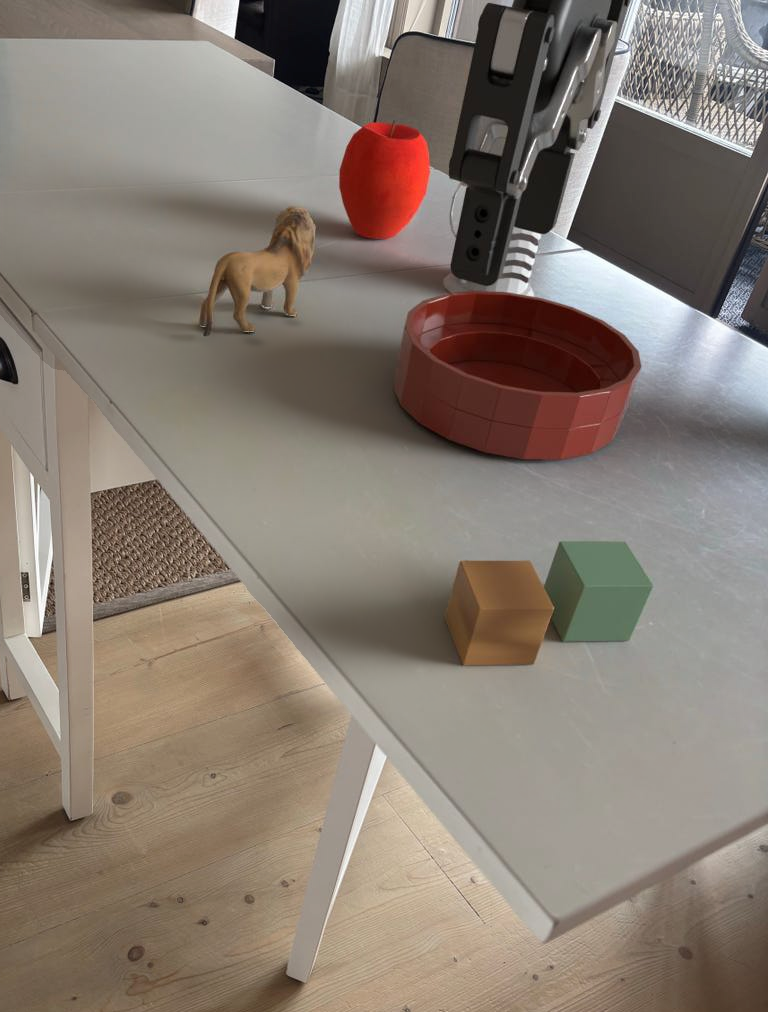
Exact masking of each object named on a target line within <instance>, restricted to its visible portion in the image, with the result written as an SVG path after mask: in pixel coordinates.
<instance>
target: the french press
mask: <svg viewBox="0 0 768 1012" xmlns="http://www.w3.org/2000/svg"><path fill="white" fill-rule="evenodd" d="M505 140H506V139H504V138H498V139H496V140H495V141H494V142H493V144H492V146H491V149H490V152H489V153H491V154H495V155H499V156H502V153H503V148H504V144H505ZM461 186H462V184H461V181H459V183H458V185H457V187H456V188H455V191H454V194H453V196H452V199H451V204H450V210H449V226H450V230H451V233H452V234H453V236H454V238H455V239H456V235H457V232H456V231H455V230H454V222H453V213H454V207H455V200H456V197H457V195H458V194H459V193H458V192H459V190H460V188H461ZM541 238H542V234H539V233H535V232H531V231H527V230H523V229H520V228H516V227H514V228H513V232H512V237H511V241H510V245H509V249H508V253H507V257H506V261H505V266H504V270H503V274H502V276H501V277H500V278H499V279H498V280H497V281H496V282H495V283H494V284H493V285H491V286H484V285H480V284H477V283H473V282H470V281H466V280H463V279H459V278H457V277H455V276H454V275H453V274H452V272H451V271H450V273H448V274H447V275H446V276H445V277H444V278H443V279H442V282H443V287H444V288H445V289H446V290H447V291H448V293H455V292H464V291H493V292H509V293H515V294H521V295H527V296H533V297H536V296H535V292H534V290H533V288H532V287H531V285H530V280H529V278H530V277H531V276H532V272H533V267H532V266H534V264H535V261H536V255H535V254H536V253H537V252H538V249H539V241H538V240H541Z"/></svg>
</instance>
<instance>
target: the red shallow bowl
mask: <svg viewBox="0 0 768 1012" xmlns="http://www.w3.org/2000/svg"><path fill="white" fill-rule="evenodd" d="M641 371H642V363H641V358H640V351H639V349H637V348H636V346H635V345H634V344H633V343H632V342H631V341H630V340H629V338H628V337H627V336H626V335H625V334H624V333H623V332H621V331H619V329H616V328H615V327H613V326H612V325H611V324H609V323H607V322H606V321H604V320H603V319H601V318H598V317H596V316H594V315H592V314H589V313H587V312H586V311H582V310H580V309H578V308H576V307H574V306H570V305H567V304H563V303H560V302H556V301H553V300H550V299H546V298H543V297H537V296H535V297H533V296H527V295H521V294H515V293H509V292H493V291H464V292H455V293H450V292H445V293H443V294H440V295H436V296H433V297H431V298H430V297H429V298H427V299H425V300H424V299H423V300H421V301H420V302H419V303H418V304H416V305H415V306H414V307H413V308H412V309H410V310H409V311H408V312H407V315H406V319H405V323H404V326H403V333H402V339H401V343H400V349H399V355H398V360H397V365H396V371H395V376H394V377H395V378H394V381H393V382H394V383H393V390H394V392H395V395H396V398H397V400H398V402H399V405H400V406H401V408H403V409H404V410H405V411H406V412H407V413H408V414H409V415H410V416H411V417H412V418H413V419H415V421H417V422H418V424H419V425H422V426H423V427H425V428H427V429H429V430H431V431H432V432H434V433H436V434H438V435H439V436H441V437H443V438H445V439H446V440H449V441H451V442H454V443H457V444H460V445H463V446H465V447H468V448H471V449H474V450H477V451H480V452H483V453H486V454H493V455H498V456H504V457H510V458H514V459H520V460H552V461H553V460H555V461H556V460H557V461H558V460H559V461H560V460H565V459H570V458H576V457H580V456H581V457H582V456H587V455H591V454H593V453H594V452H596V451H598V450H600V449H601V448H603V447H605V446H607V445H609V444H611V443H612V442H613V440H614V438H615V436H617V433H618V432H619V430H620V429H621V426H622V424H623V422H624V421H623V420H624V418H625V415H626V412H627V409H628V406H629V405H630V401H631V398H632V396H633V392H634V390H635V387H636V384H637V382H638V379H639V376H640V373H641Z"/></svg>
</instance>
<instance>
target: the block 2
mask: <svg viewBox="0 0 768 1012" xmlns="http://www.w3.org/2000/svg"><path fill="white" fill-rule="evenodd" d="M543 587H544V589H545V591H546V593H547V595H548V597H549V599H550V601H551V603H552V605H553V607H554V610H553V612H552V615H551V618H550V620H551V621H552V622H553V625H554V626H555V627H554V628H556V630H557V633H558V635H559V637H560V639H561V641H562V642H563V643H564V642H567V643H568V642H569V643H570V642H573V643H574V642H628V641H631V638H632V637H633V634H634V631H635V629H636V627H637V625H638V622H639V621H640V618H641V616H642V613H643V611H644V609H645V607H646V604H647V602H648V600H649V598H650V595H651V593H652V591H653V589H654V584H653V582H652V580H651V578H650V577H649V576H648V574H647V573H646V571H645V570H644V568H643V567H642V565H641V563H640V561H639V560H638V558H637V556H635V554H634V552H633V551H632V549H631V547H630V545H629V544H628V543H627V541H601V540H600V541H592V540H591V541H589V540H588V541H586V540H585V541H582V540H581V541H580V540H578V541H577V540H574V541H573V540H572V541H568V540H566V541H563V540H561V541H559V542H558V544H557V547H556V549H555V553H554V556H553V559H552V562H551V564H550V568H549V570H548V573H547V576H546V579H545V582H544V585H543Z"/></svg>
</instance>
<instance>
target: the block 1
mask: <svg viewBox="0 0 768 1012" xmlns="http://www.w3.org/2000/svg"><path fill="white" fill-rule="evenodd" d="M450 592H451V593H450V595H449V596H450V597H449V601H448V604H447V609H446V611H445V616H444V618H445V621H446V623H447V627H448V629H449V631H450V634H451V637H452V640H453V643H454V645H455V649H456V651H457V654H458V657H459V659H460V662H461V664H462V666H463V667H464V666H465V667H467V666H524V665H526V666H528V665H530V666H531V665H535V662H536V659H537V656H538V654H539V651H540V648H541V645H542V643H543V640H544V637H545V634H546V632H547V629H548V627H549V623H550V620H551V615H552V612H553V610H554V607H553V605H552V603H551V601H550V599H549V597H548V595H547V593H546V591H545V589H544V585H543V583H542V581H541V578H540V577H539V575H538V573H537V571H536V569H535V567H534V565H533V562H532V561H531V560H460V561H459V563H458V566H457V570H456V574H455V577H454V581H453V585H452V589H451V591H450Z"/></svg>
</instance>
